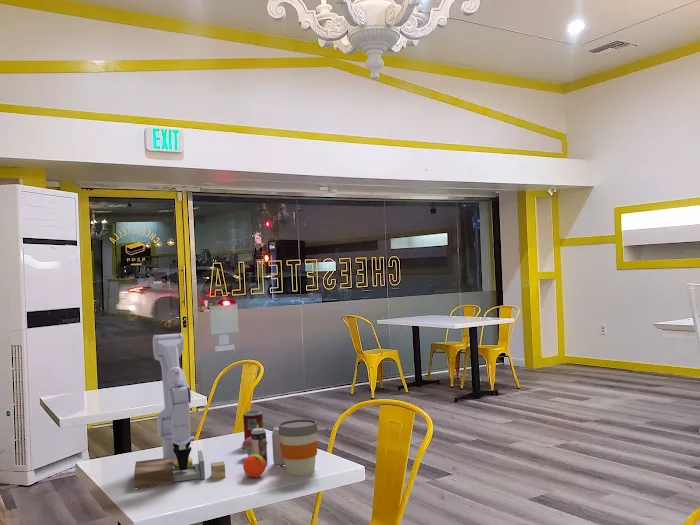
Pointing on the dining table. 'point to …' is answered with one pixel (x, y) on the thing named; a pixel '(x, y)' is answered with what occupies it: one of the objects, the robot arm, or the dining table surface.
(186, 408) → the robot arm
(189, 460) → the yellow flat dome
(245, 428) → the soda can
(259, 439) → the beer can
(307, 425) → the reusable coffee cup
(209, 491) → the dining table surface
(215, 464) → the block
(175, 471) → the tray
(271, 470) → the dining table surface
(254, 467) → the clementine
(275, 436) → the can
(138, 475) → the housing
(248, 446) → the cupcake
